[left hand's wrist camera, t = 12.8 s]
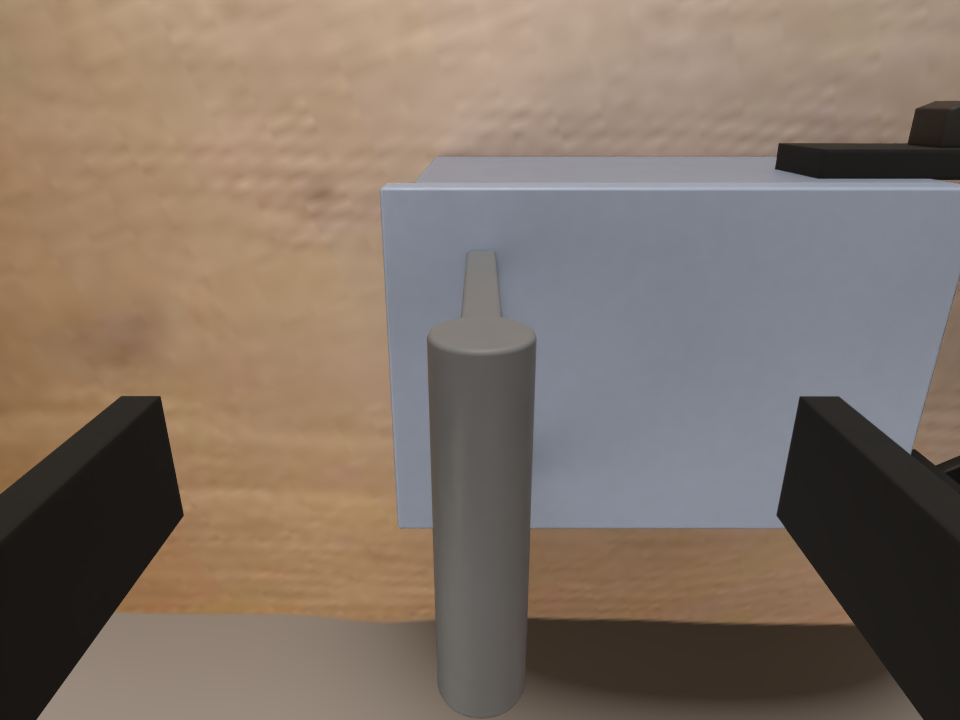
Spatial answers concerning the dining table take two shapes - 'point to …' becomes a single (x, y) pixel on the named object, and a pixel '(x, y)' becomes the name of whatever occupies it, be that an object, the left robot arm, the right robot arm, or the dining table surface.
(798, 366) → the door
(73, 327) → the dining table surface
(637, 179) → the chest
